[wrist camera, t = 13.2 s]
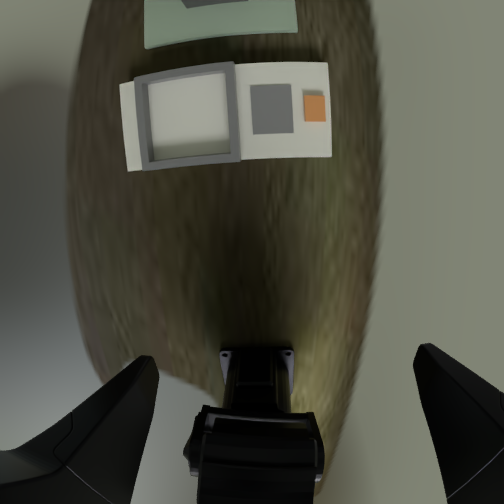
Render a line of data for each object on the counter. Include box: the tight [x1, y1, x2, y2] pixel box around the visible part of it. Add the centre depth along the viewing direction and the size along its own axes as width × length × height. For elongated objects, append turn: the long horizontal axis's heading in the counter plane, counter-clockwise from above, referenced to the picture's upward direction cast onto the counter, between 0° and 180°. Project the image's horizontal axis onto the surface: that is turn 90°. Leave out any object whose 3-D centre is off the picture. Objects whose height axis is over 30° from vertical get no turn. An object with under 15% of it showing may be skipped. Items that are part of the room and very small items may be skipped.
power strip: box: [120, 61, 332, 172], centre depth 17 cm, size 6×13×2 cm, turn 93°
